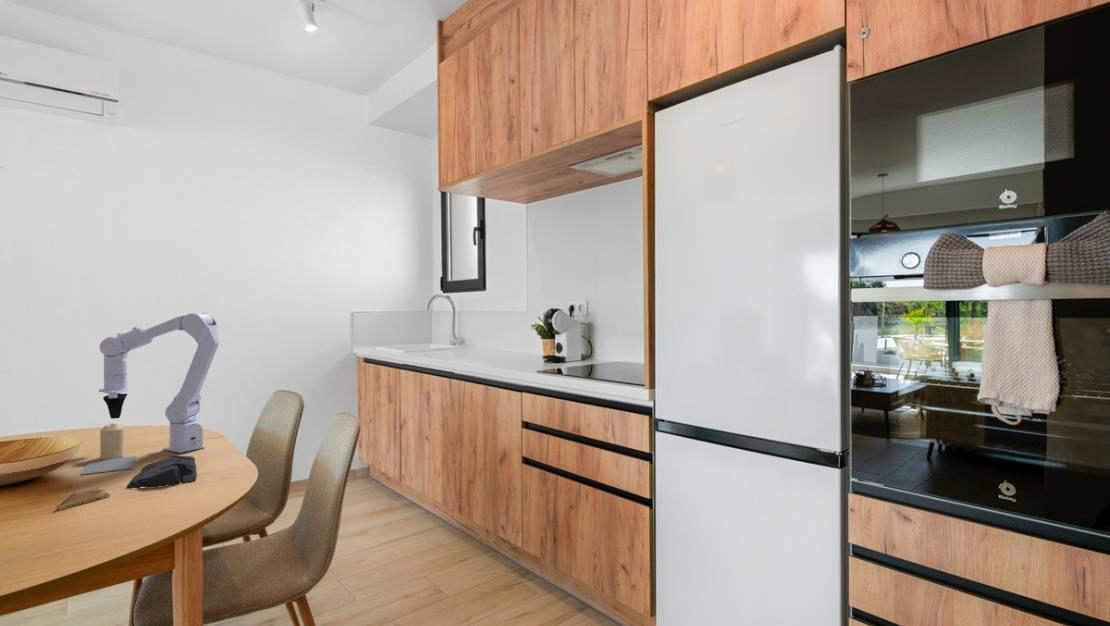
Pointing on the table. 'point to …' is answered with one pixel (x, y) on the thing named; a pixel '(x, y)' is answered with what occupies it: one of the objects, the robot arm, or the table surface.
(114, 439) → the candle
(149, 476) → the dark slate chunk
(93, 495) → the shard
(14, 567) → the table surface
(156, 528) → the table surface
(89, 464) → the slate mat
